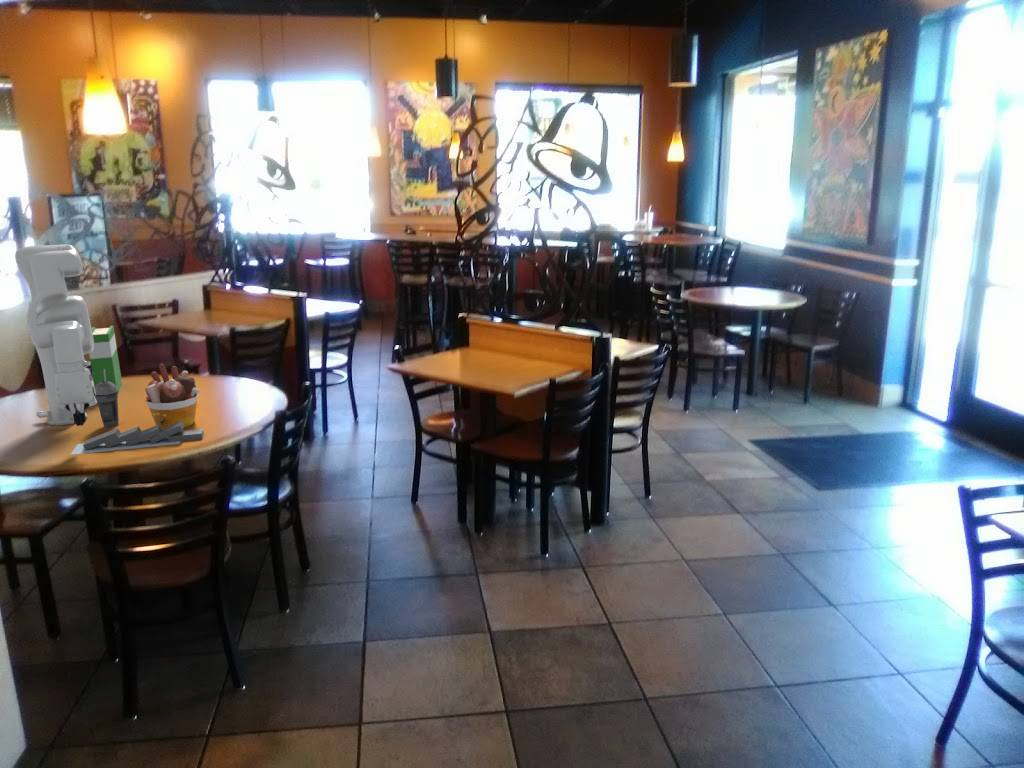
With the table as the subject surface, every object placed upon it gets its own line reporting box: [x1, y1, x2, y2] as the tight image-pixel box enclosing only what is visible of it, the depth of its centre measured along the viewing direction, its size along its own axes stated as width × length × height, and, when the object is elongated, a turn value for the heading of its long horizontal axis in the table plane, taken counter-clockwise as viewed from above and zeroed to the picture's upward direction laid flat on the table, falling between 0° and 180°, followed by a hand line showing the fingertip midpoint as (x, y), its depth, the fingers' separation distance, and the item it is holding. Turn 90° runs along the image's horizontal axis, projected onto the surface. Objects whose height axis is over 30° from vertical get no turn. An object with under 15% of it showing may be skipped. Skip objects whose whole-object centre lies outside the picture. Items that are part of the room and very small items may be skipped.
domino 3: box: [126, 424, 162, 446], centre depth 256 cm, size 2×5×10 cm
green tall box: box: [88, 325, 123, 394], centre depth 317 cm, size 18×7×24 cm, turn 20°
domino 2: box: [104, 425, 142, 448], centre depth 255 cm, size 2×5×10 cm
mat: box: [70, 437, 181, 456], centre depth 256 cm, size 31×10×1 cm, turn 106°
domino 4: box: [149, 421, 185, 444], centre depth 258 cm, size 2×5×10 cm
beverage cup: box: [95, 369, 120, 429], centre depth 273 cm, size 7×7×20 cm
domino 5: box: [168, 428, 205, 442], centre depth 260 cm, size 2×5×10 cm
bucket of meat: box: [144, 363, 201, 429], centre depth 272 cm, size 20×16×20 cm
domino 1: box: [82, 427, 121, 450], centre depth 253 cm, size 2×5×10 cm
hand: (80, 424), depth 251 cm, fingers closed
